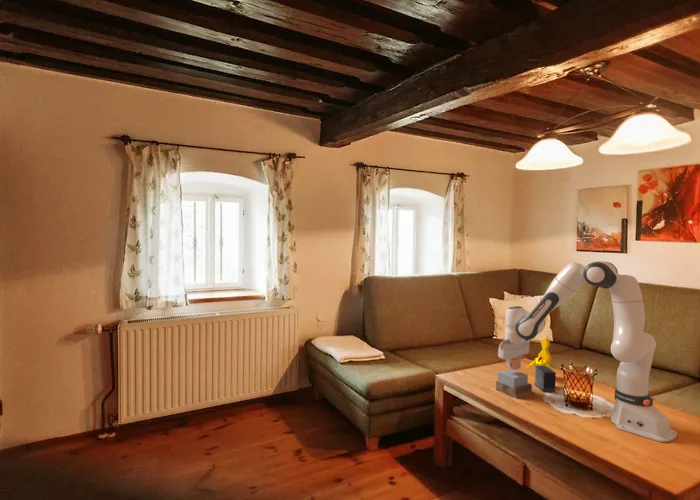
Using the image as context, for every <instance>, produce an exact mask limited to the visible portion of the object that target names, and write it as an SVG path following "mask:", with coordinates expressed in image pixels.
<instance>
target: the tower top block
mask: <svg viewBox="0 0 700 500" xmlns="http://www.w3.org/2000/svg"><path fill="white" fill-rule="evenodd" d="M528 376H529V374H527V373H524V372H522V371H519V370H517V369H516V370H512V369H510V368H507V369H505V370H500V371H498V372H497V381H498V382H500V383H503V384H505V385H507V386H510V387H512V388H517V387H520V386H524V385H527V384H528V383H529V382H528V380H529V379H528V378H529V377H528Z"/></svg>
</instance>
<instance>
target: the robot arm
mask: <svg viewBox="0 0 700 500" xmlns="http://www.w3.org/2000/svg"><path fill="white" fill-rule="evenodd" d="M585 284H589V285H591V286H593V287H597V288H602V289H607V290H609V293H610V298H611V305H612V312H613V332H612V333H613V334H612V343H611V345H610V352H611V355H612V356H613V357H614V359H616V360H617V361H619V362H620V363H619V366H618V368H617V371H616V387H615V388H614V389H615V390H614V401H615V402H614V408H613V411H612V415H611V417H610V420H611V422H612V423H613V424H614V425H615V426H616V428H617V429H619V430H621V431H624V432H628V433H631V434H635V435H637V436H641V437H644V438H648V439H650V440H653V441H656V442H660V443H667V442H671V441H673V440H675V439H676V438H677V436H678V433H677V431H676V430H674V429H672V428H671V425H670V420H669V418H668V417H667V416H666V415H665V414H664V413H663V412H662V411H661V410H659V408H657V407H656V406H655V405H654V404H653V403H654V401H655V398H656V397H655V396H654V397H651V395H650V394H649V380H650V378H649V377H650V372H651V368H652V363H653V359H654V354H655V350H656V347H657V341H656V340H655V338H654V337H653V335H651V334H650V333H648V332H645V331H644V328H645V322H646V313H645V305H644V298H643V294H642V290H641V287H640V284H639V281H638V279H637V278H636V277H634V276H632V275H630V274H619V271H618V269H617V267H616V266H615V265H614V264H613V263H611V262H609V261H605V260H604V261H603V260H597V261H593V262H590V263H588V264H587V265H586V266H585V265H583V264H582V263H579V262H576V261H575V262H570V263H568V264H567V265H566V266H564V267H563V268H562V269H561V270H560V271H559V272H558V273H557V275H556V276H554V278H553V279H552V281H551V283H550V284H549V286H548V288H547V289H546V291H545V292H544V294H543V296H542V298H541V300H540V301H539V302H538V303H537V304H536V305H535V307H534V308H533V309H532V311H531V312H530V311H527V310H526V309H525V308H524V307H523V306H520V305H519V306H518V305H517V306H516V305H513V306H510V307H508V308H507V309H506V310H505V311H506V312H505V316H504V317H505V319H504V324H505V330H504V339H502V340H501V342H500V344H499V346H498V350H497V351H498V352H497V356H498V359H501V360H505V363H506V362H507V366H512V363H511V362H510V360H511V358H512V357H517V358H520V359H521V360H522V356H523V355H527V354H529V352H530V341H531V340H533V339H535V338H536V336H538V335H539V334H540V333H542V332H543V331H544V329H545V326H546V325H545V319H546V318H547V317H548V316H549V314H550V313H552V311H553V310H555V309H556V308H558V307H559V306H561V305H563V304H565V303H566V302H568V301H569V300H570V299H571V298H572V297H574V296H575V295H576V294H577V292H578V291H579V290H580V289H581V288H582V287H583V285H585Z"/></svg>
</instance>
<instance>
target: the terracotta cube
mask: <svg viewBox="0 0 700 500" xmlns="http://www.w3.org/2000/svg"><path fill="white" fill-rule="evenodd" d="M510 362H511V363H512V366H507V362H506V361H505V368H506V369H512V370H516V371H517V370H519V369H521V366H522V365H521V364H522V363H521V362H522V358H521V359H520V358H517V356H516V357H512V358H511V360H510Z"/></svg>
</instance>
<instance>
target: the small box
mask: <svg viewBox="0 0 700 500" xmlns="http://www.w3.org/2000/svg"><path fill="white" fill-rule="evenodd" d="M534 367H535V372H534V385H535V387H537V388H538V389H539V390H540V391H541V392H543V393H556V376H557V375H556V374H557V373H556V372H555V371H554V370H553V369H552V368H551V369H552V370H551V369H550V368H549V367H547V366H536V365H534Z"/></svg>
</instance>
